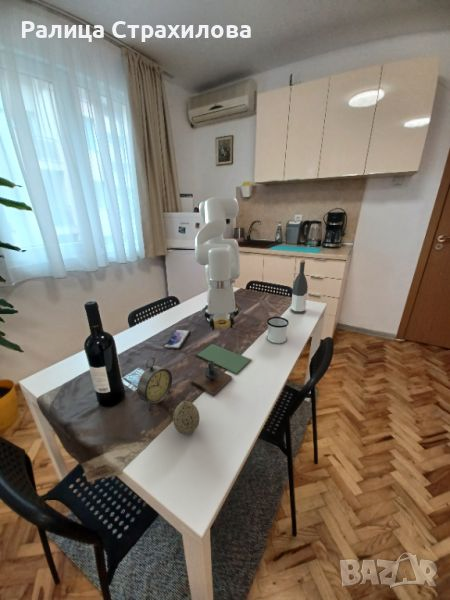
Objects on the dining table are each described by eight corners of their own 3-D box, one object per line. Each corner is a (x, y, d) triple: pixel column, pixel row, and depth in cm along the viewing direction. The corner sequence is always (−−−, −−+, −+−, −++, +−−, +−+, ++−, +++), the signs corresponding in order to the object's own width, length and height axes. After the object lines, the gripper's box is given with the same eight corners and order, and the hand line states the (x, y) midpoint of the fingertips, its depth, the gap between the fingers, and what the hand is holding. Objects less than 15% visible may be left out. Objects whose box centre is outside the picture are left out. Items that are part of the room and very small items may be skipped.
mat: (196, 355, 99) (196, 354, 99) (212, 344, 106) (212, 343, 106) (236, 374, 88) (236, 372, 87) (250, 360, 95) (250, 359, 95)
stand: (192, 383, 84) (190, 364, 81) (210, 368, 91) (209, 350, 88) (214, 395, 78) (212, 376, 75) (231, 378, 85) (231, 360, 82)
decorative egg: (200, 417, 70) (197, 391, 67) (200, 439, 64) (198, 411, 60) (175, 420, 70) (171, 394, 66) (173, 442, 63) (169, 415, 59)
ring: (210, 325, 90) (209, 322, 90) (220, 319, 95) (220, 316, 94) (223, 330, 87) (223, 327, 86) (233, 323, 91) (233, 320, 91)
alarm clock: (150, 415, 72) (141, 371, 66) (138, 407, 74) (128, 365, 68) (175, 391, 80) (169, 351, 74) (163, 386, 83) (157, 346, 77)
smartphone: (163, 346, 104) (176, 329, 118) (164, 348, 105) (176, 331, 118) (179, 347, 103) (189, 330, 117) (179, 349, 103) (190, 331, 117)
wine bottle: (293, 306, 142) (298, 256, 130) (307, 310, 137) (313, 258, 126) (288, 311, 136) (292, 259, 124) (302, 315, 131) (308, 261, 120)
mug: (285, 346, 104) (286, 327, 100) (264, 342, 107) (264, 324, 104) (289, 333, 114) (291, 316, 110) (270, 329, 117) (271, 313, 114)
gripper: (242, 278, 89) (242, 321, 96) (195, 281, 87) (199, 325, 94) (246, 284, 82) (246, 330, 89) (196, 288, 80) (199, 334, 87)
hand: (222, 327), depth 91 cm, fingers closed on ring, 6 cm apart
